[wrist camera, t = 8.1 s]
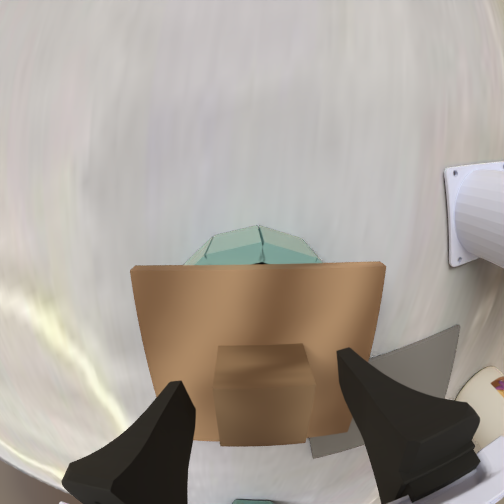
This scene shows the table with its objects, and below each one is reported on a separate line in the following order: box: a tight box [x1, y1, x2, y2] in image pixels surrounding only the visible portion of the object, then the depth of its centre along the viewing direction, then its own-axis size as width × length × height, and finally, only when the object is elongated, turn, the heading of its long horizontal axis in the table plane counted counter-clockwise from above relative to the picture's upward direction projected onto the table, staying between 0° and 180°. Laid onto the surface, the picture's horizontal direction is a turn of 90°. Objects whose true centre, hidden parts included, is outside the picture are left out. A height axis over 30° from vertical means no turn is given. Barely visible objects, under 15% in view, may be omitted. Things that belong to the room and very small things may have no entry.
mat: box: [309, 325, 460, 459], centre depth 23 cm, size 16×13×1 cm
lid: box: [130, 262, 386, 446], centre depth 14 cm, size 13×13×4 cm
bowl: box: [184, 225, 323, 265], centre depth 18 cm, size 11×11×4 cm
